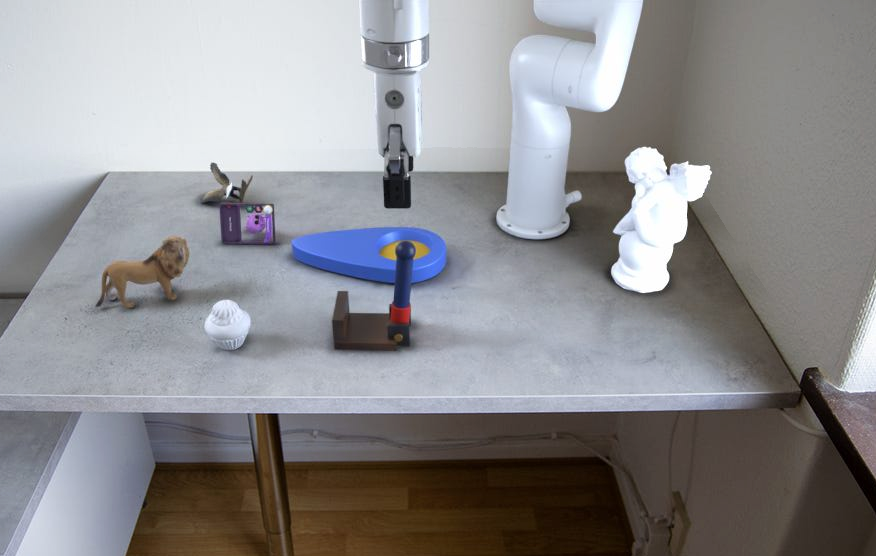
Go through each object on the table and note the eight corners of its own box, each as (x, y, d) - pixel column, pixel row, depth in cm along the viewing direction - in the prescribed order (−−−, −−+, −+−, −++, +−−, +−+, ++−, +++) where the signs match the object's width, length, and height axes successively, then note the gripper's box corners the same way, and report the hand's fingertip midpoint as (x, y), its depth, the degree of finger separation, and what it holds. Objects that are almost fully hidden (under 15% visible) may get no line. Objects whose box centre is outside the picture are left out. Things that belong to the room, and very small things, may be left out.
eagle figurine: (258, 186, 143) (215, 172, 145) (249, 166, 136) (204, 151, 138) (240, 221, 141) (196, 206, 142) (230, 202, 134) (184, 187, 135)
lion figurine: (192, 277, 120) (182, 226, 115) (200, 294, 116) (190, 243, 111) (94, 301, 115) (78, 249, 110) (98, 319, 111) (82, 267, 106)
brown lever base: (411, 320, 111) (410, 291, 108) (409, 350, 105) (409, 321, 102) (339, 319, 111) (337, 290, 108) (334, 349, 105) (331, 320, 102)
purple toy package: (217, 203, 126) (272, 204, 126) (226, 199, 131) (279, 200, 131) (220, 244, 128) (274, 245, 127) (228, 238, 133) (280, 239, 132)
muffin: (204, 336, 108) (196, 295, 104) (247, 325, 110) (241, 285, 106) (213, 362, 103) (205, 320, 99) (258, 350, 105) (252, 308, 101)
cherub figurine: (598, 263, 123) (618, 133, 110) (668, 252, 126) (696, 124, 113) (634, 305, 113) (661, 168, 101) (709, 293, 116) (744, 158, 103)
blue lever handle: (416, 237, 100) (396, 236, 100) (416, 248, 98) (395, 246, 98) (409, 320, 108) (390, 319, 108) (408, 332, 106) (389, 330, 106)
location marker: (282, 278, 120) (440, 288, 117) (279, 259, 118) (440, 269, 115) (305, 236, 131) (451, 244, 127) (303, 218, 129) (451, 226, 125)
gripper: (428, 76, 78) (428, 223, 88) (430, 26, 92) (430, 158, 102) (354, 77, 79) (363, 223, 89) (367, 26, 93) (374, 158, 103)
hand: (399, 188), depth 96 cm, fingers open, 9 cm apart
